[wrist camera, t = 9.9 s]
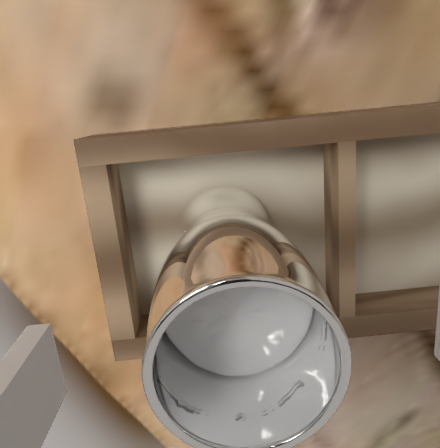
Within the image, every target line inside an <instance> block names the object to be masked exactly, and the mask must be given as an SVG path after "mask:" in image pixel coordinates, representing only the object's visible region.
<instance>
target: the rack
mask: <svg viewBox="0 0 440 448" xmlns="http://www.w3.org/2000/svg"><path fill="white" fill-rule="evenodd" d="M74 145H75V150H76V156H77V161H78V166H79V171H80V177H81V182H82V187H83V193H84V198H85V203H86V208H87V214H88V219H89V224H90V230H91V235H92V240H93V246H94V251H95V256H96V261H97V267H98V272H99V277H100V283H101V288H102V293H103V299H104V304H105V309H106V314H107V320H108V325H109V330H110V336H111V341H112V346H113V351H114V357H115V361H123V360H133V359H143V354H144V350H145V346H146V334H147V325H148V317H149V310H150V305H151V300H152V295H153V291H154V287H155V284H156V281H157V278H158V276H159V273H160V270H161V268H162V265H163V263H164V261H165V260H166V258H167V256H168V255H169V253H170V252H171V250H172V248H173V247H174V245H175V244H176V243H177V241H178V240H179V223H180V219H181V216H182V214H183V212H184V210H185V208H186V207H187V205H188V204H189V203H190V202H191V201H192V200H193V199H194V198H195V197H196V196H198V195H199V194H201V193H202V192H204V191H207V190H209V189H212V188H217V187H234V188H238V189H242V190H244V191H246V192H248V193H250V194H251V195H253V196H254V197H255V198H257V199H258V200H259V201H260V203H261V204H262V205H263V206H264V208H265V210H266V212H267V214H268V217H269V220H270V225H272V226H273V227H275V228H276V229H278V230H279V231H280V232H282V233H283V234H284V235H285V236H286V237H288V238H289V239H290V240H291V241H292V242H293V243H294V244H295V245H296V246H297V247H298V248H299V250H300V251H301V252H302V254H303V255H304V256H305V257H306V259H307V260H308V261H309V263H310V264H311V266H312V267H313V269H314V271H315V273H316V274H317V276H318V278H319V279H320V281H321V283H322V285H323V287H324V289H325V291H326V293H327V295H328V298H329V300H330V302H331V304H332V306H333V309H334V311H335V314H336V316H337V317H338V319H339V320H340V322H341V324H342V326H343V327H344V330H345V332H346V334H347V337H348V338H353V337H363V336H373V335H383V334H393V333H403V332H413V331H423V330H433V329H436V323H437V311H438V298H439V285H440V102H435V103H424V104H413V105H403V106H392V107H382V108H371V109H361V110H350V111H340V112H329V113H318V114H308V115H297V116H287V117H276V118H266V119H255V120H245V121H234V122H224V123H213V124H202V125H192V126H181V127H171V128H160V129H150V130H139V131H129V132H118V133H107V134H97V135H91V136H87V137H83V138H79V139H75V140H74Z"/></svg>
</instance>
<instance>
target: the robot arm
mask: <svg viewBox="0 0 440 448" xmlns="http://www.w3.org/2000/svg"><path fill="white" fill-rule="evenodd" d="M434 355H435V357H436V358H437V359H438V360H439V361H440V285H439V298H438V311H437V323H436V336H435V348H434ZM66 393H67V390H66V385H65V381H64V377H63V373H62V369H61V365H60V361H59V357H58V353H57V348H56V344H55V341H54V336H53V332H52V328H51V324H40V325H30V326H27V327H26V328H25V330H24V331H23V332H22V333H21V335H20V336H19V337H18V339H17V340H16V341H15V342H14V344H13V345H12V346H11V348H10V349H9V350H8V351H7V353H6V354H5V355H4V357H3V358H2V359H1V360H0V448H41V446H42V444H43V442H44V440H45V438H46V435H47V433H48V431H49V429H50V427H51V425H52V423H53V421H54V418H55V416H56V414H57V412H58V410H59V408H60V406H61V404H62V401H63V399H64V397H65V395H66Z"/></svg>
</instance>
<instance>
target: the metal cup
mask: <svg viewBox="0 0 440 448" xmlns="http://www.w3.org/2000/svg"><path fill="white" fill-rule="evenodd" d="M351 369H352V356H351V349H350V344H349V340H348V337H347V334H346V332H345V330H344V327H343V326H342V324H341V322H340V320H339V319H338V317H337V316H336V314H335V311H334V309H333V306H332V304H331V302H330V300H329V298H328V295H327V293H326V291H325V289H324V287H323V285H322V283H321V281H320V279H319V278H318V276H317V274H316V273H315V271H314V269H313V267H312V266H311V264H310V263H309V261H308V260H307V259H306V257H305V256H304V255H303V254H302V252H301V251H300V250H299V248H298V247H297V246H296V245H295V244H294V243H293V242H292V241H291V240H290V239H289V238H288V237H286V236H285V235H284V234H283V233H282V232H280V231H279V230H278V229H276V228H275V227H273V226H272V225H270V220H269V217H268V214H267V212H266V210H265V208H264V206H263V205H262V204H261V203H260V201H259V200H258V199H257V198H255V197H254V196H253V195H251V194H250V193H248V192H246V191H244V190H242V189H238V188H234V187H217V188H212V189H209V190H207V191H204V192H202V193H201V194H199V195H198V196H196V197H195V198H194V199H193V200H192V201H191V202H190V203H189V204H188V205H187V207H186V208H185V210H184V212H183V214H182V216H181V219H180V223H179V240H178V241H177V243H176V244H175V245H174V247H173V248H172V250H171V252H170V253H169V255H168V256H167V258H166V260H165V261H164V263H163V265H162V268H161V270H160V273H159V276H158V278H157V281H156V284H155V287H154V291H153V295H152V300H151V305H150V310H149V317H148V325H147V334H146V346H145V350H144V354H143V359H142V381H143V387H144V391H145V394H146V397H147V400H148V402H149V405H150V407H151V408H152V410H153V412H154V414H155V415H156V417H157V418H158V419H159V421H160V422H161V423H162V424H163V425H164V426H165V427H166V428H167V429H168V430H169V431H170V432H171V433H172V434H173V435H175V436H176V437H177V438H179V439H180V440H182V441H183V442H185V443H187V444H189V445H190V446H192V447H195V448H291V447H293V446H295V445H297V444H299V443H301V442H303V441H304V440H306V439H308V438H309V437H310V436H312V435H313V434H315V433H316V432H317V431H318V430H319V429H321V428H322V427H323V426H324V425H325V424H326V423H327V422H328V421H329V420H330V418H331V417H332V416H333V415H334V413H335V412H336V410H337V409H338V407H339V406H340V404H341V402H342V400H343V398H344V396H345V394H346V391H347V388H348V385H349V382H350V377H351Z"/></svg>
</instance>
